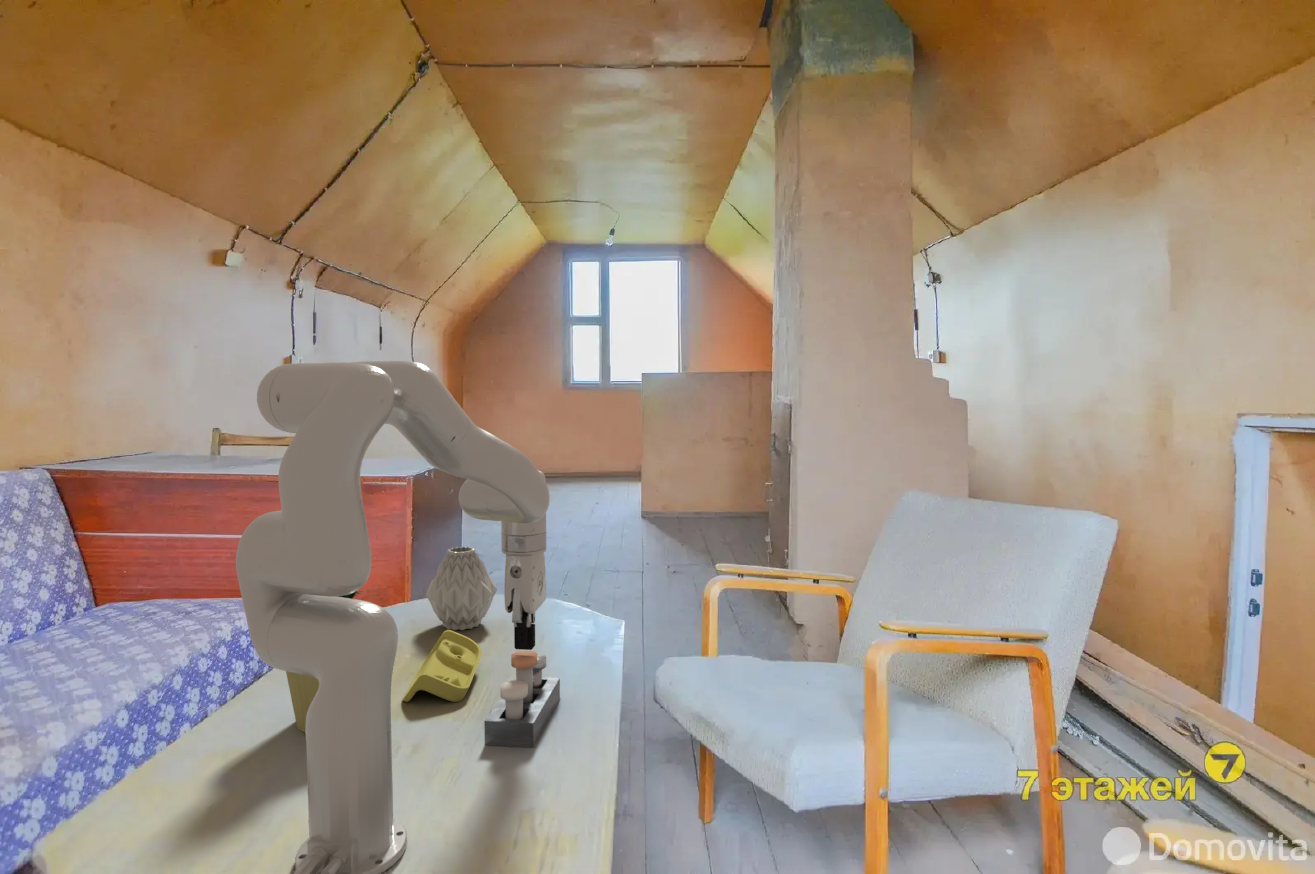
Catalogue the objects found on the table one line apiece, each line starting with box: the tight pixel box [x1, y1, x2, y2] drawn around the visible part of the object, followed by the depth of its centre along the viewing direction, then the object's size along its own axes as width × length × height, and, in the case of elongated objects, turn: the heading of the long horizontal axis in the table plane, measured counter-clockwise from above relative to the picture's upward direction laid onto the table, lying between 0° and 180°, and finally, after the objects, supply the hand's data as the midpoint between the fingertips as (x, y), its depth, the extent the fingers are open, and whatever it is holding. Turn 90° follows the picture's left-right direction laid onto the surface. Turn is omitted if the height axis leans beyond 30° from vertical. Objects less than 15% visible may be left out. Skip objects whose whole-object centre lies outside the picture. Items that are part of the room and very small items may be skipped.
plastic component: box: [402, 629, 482, 703], centre depth 140 cm, size 20×7×10 cm
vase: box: [425, 546, 498, 631], centre depth 173 cm, size 16×16×18 cm
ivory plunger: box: [499, 679, 528, 720], centre depth 118 cm, size 4×4×8 cm
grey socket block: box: [483, 676, 561, 749], centre depth 124 cm, size 18×8×4 cm, turn 174°
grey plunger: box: [533, 653, 547, 689], centre depth 130 cm, size 4×4×8 cm
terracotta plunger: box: [510, 650, 538, 704], centre depth 124 cm, size 4×4×8 cm
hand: (524, 647), depth 124 cm, fingers closed
